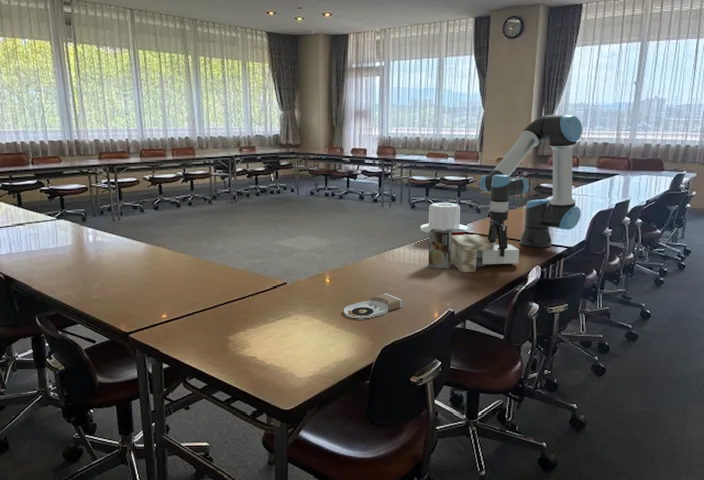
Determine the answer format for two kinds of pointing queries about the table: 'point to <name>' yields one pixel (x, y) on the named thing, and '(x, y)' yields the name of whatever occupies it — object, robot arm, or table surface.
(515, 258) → the white block
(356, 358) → the table surface
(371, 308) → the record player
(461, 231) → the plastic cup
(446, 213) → the ribbed cylinder on disc
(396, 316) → the table surface
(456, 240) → the beige boxy piece
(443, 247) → the coffee box
